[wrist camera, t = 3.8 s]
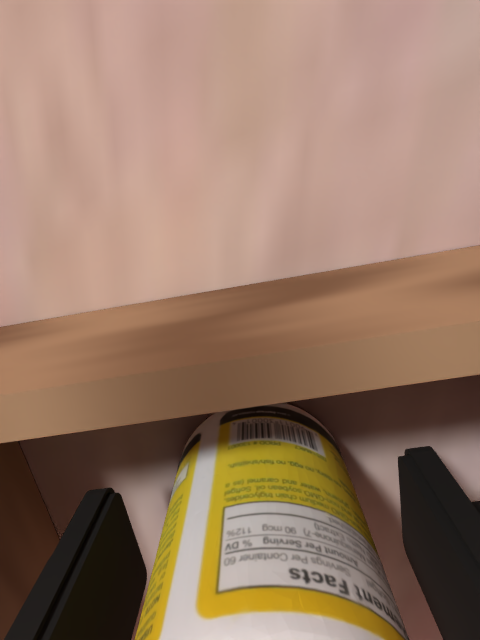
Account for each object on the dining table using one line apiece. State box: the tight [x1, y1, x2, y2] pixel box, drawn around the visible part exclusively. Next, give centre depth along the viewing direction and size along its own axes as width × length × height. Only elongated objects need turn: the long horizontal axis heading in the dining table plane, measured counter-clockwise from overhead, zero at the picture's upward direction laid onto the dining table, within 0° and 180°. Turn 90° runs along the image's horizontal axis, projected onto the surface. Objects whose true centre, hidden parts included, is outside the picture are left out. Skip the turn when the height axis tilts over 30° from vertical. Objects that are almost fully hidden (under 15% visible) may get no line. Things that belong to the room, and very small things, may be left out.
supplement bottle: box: [135, 403, 409, 640], centre depth 7 cm, size 5×5×8 cm
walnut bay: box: [0, 245, 480, 640], centre depth 9 cm, size 16×12×4 cm
